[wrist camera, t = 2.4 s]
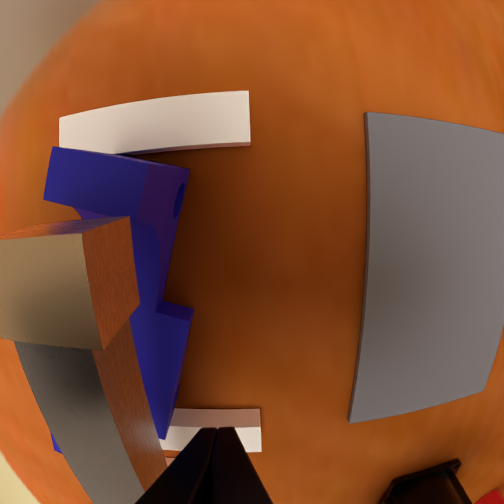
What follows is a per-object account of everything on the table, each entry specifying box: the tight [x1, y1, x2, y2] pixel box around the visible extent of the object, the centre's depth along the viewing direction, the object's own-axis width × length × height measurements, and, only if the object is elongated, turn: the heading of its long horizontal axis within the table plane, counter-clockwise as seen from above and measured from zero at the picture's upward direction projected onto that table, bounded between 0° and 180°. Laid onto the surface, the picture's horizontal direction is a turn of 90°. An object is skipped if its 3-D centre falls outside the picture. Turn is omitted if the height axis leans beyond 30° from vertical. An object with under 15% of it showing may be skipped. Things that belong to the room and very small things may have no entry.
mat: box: [348, 112, 504, 424], centre depth 14 cm, size 10×16×1 cm, turn 2°
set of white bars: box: [59, 91, 262, 466], centre depth 14 cm, size 8×24×2 cm, turn 2°
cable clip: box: [43, 147, 194, 454], centre depth 12 cm, size 12×4×6 cm, turn 165°
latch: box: [0, 216, 168, 504], centre depth 10 cm, size 3×19×9 cm, turn 2°
